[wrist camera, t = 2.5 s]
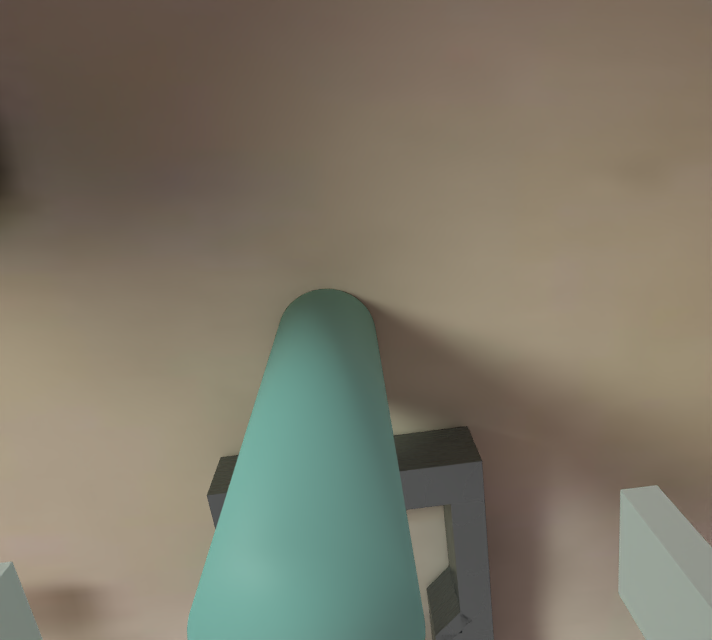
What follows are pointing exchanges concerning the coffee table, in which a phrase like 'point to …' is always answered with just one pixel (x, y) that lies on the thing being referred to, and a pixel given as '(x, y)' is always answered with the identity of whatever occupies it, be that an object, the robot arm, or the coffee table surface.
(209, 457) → the coffee table surface
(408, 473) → the keyhole plate
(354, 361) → the peg
